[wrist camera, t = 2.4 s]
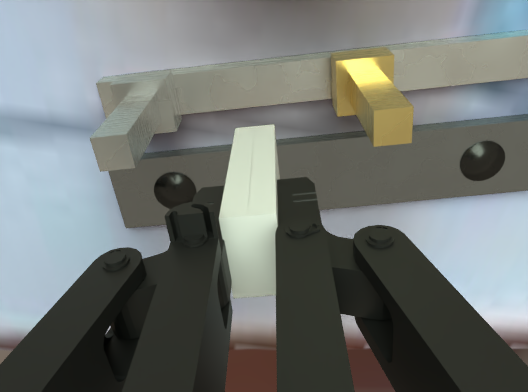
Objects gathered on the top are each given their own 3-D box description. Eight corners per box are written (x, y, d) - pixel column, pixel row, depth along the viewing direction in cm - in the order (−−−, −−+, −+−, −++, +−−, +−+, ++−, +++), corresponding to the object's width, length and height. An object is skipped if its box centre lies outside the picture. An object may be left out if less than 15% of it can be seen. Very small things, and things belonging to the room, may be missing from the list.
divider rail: (115, 119, 29) (57, 190, 21) (102, 71, 28) (33, 128, 19) (570, 70, 28) (700, 126, 19) (581, 18, 26) (727, 54, 18)
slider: (332, 105, 27) (357, 163, 20) (330, 53, 25) (356, 96, 18) (384, 99, 27) (427, 156, 20) (385, 46, 25) (432, 87, 18)
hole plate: (129, 220, 33) (125, 228, 32) (110, 156, 30) (105, 163, 29) (561, 179, 31) (570, 186, 30) (577, 108, 29) (588, 114, 28)
